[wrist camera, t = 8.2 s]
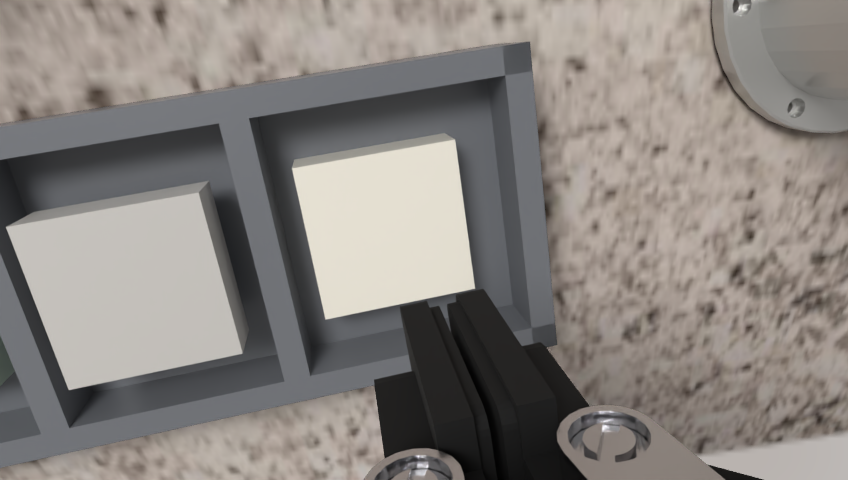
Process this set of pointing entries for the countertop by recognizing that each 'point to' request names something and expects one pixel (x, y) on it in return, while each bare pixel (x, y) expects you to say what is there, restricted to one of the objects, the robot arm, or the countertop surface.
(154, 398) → the grey compartment tray
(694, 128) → the countertop surface
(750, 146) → the countertop surface
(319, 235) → the cream key
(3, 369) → the sage key
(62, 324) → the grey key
